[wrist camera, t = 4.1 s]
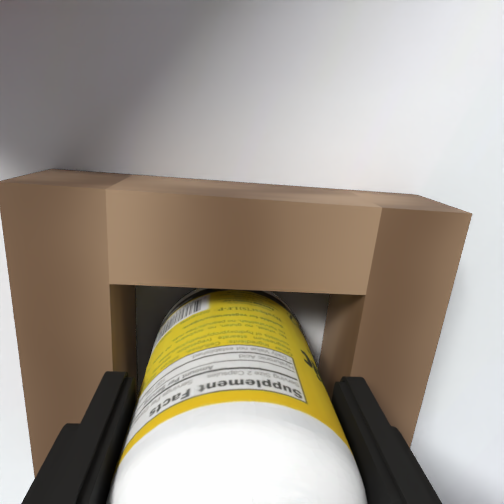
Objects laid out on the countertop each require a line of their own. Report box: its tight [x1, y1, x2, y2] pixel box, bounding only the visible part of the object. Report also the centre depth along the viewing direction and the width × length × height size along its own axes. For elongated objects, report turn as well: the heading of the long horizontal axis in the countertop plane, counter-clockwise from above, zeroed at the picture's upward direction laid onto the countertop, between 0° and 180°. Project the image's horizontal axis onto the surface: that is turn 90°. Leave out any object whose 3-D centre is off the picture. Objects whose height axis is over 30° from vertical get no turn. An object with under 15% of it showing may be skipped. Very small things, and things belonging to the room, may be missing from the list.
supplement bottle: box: [106, 288, 367, 504], centre depth 9 cm, size 5×5×10 cm
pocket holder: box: [0, 169, 472, 477], centre depth 13 cm, size 12×12×3 cm
